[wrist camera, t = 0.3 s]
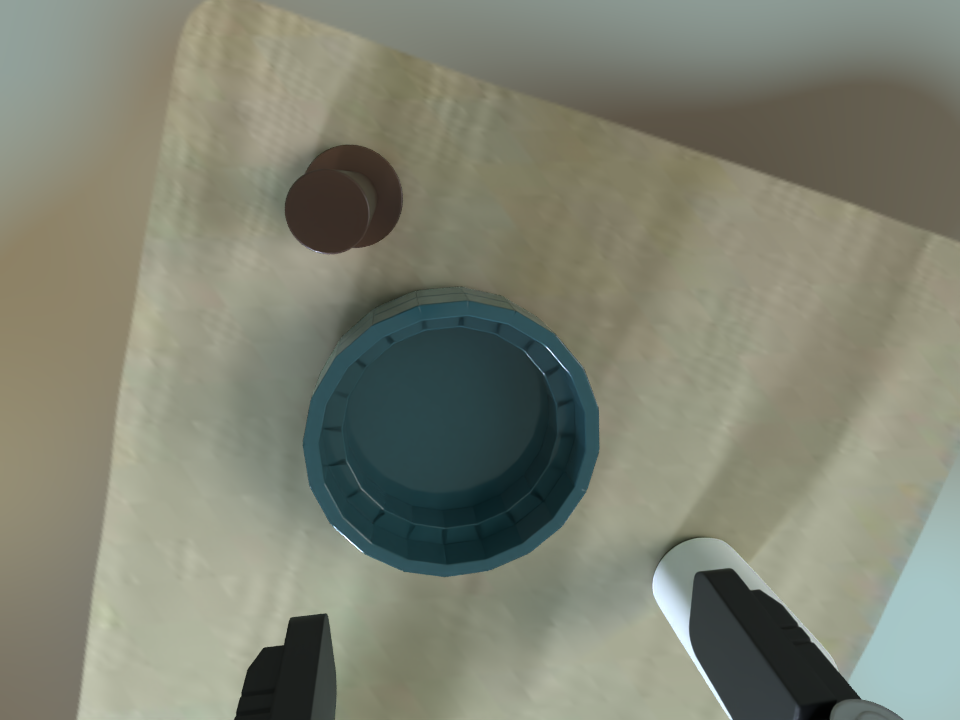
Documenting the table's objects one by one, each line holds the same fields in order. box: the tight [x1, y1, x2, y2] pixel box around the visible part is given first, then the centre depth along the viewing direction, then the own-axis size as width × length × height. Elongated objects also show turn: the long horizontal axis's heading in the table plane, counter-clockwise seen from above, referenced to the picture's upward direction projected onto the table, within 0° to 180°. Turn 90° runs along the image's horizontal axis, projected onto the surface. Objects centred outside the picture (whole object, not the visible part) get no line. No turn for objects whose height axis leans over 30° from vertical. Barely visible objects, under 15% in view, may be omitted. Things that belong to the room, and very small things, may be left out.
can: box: [653, 538, 839, 720], centre depth 38 cm, size 6×6×12 cm
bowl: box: [303, 287, 599, 577], centre depth 36 cm, size 16×16×5 cm
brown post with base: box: [285, 145, 403, 254], centre depth 27 cm, size 5×5×15 cm
